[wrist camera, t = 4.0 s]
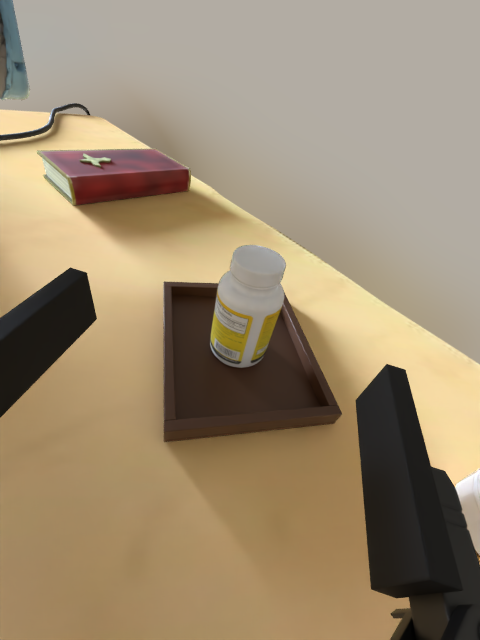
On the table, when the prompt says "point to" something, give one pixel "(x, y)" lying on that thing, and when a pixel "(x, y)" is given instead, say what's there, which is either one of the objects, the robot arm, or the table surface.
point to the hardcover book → (113, 174)
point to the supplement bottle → (247, 306)
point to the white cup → (471, 505)
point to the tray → (236, 375)
